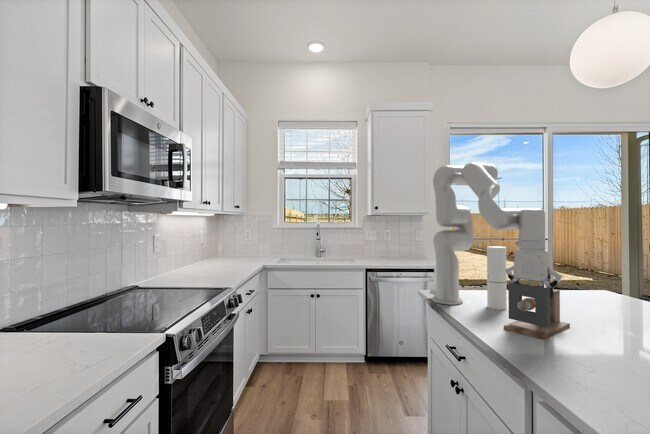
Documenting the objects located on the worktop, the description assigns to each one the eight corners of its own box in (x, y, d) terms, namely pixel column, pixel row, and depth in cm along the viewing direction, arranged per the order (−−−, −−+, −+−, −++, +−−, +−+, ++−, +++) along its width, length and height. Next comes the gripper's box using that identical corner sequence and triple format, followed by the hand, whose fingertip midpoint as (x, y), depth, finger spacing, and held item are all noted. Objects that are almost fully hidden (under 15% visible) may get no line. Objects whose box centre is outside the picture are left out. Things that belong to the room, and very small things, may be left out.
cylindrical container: (502, 305, 146) (501, 246, 146) (509, 309, 139) (509, 247, 139) (484, 304, 147) (484, 246, 147) (491, 309, 140) (490, 247, 140)
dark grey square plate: (508, 318, 118) (508, 283, 118) (511, 317, 119) (511, 282, 119) (547, 327, 108) (547, 289, 108) (550, 326, 109) (550, 288, 109)
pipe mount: (503, 329, 116) (503, 293, 116) (532, 318, 127) (532, 286, 127) (542, 339, 106) (542, 300, 106) (569, 327, 117) (569, 291, 117)
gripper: (500, 244, 120) (500, 294, 120) (556, 248, 105) (556, 304, 106) (511, 243, 124) (511, 291, 124) (566, 246, 110) (566, 300, 110)
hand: (532, 297), depth 115 cm, fingers open, 9 cm apart
